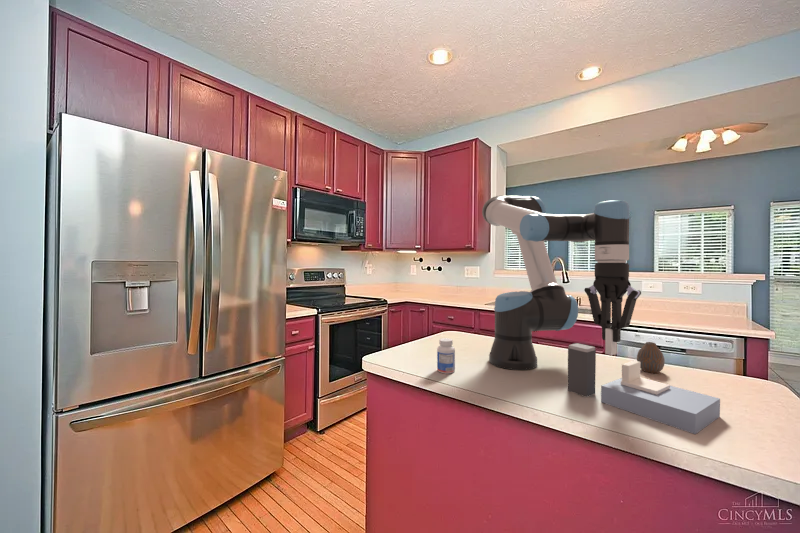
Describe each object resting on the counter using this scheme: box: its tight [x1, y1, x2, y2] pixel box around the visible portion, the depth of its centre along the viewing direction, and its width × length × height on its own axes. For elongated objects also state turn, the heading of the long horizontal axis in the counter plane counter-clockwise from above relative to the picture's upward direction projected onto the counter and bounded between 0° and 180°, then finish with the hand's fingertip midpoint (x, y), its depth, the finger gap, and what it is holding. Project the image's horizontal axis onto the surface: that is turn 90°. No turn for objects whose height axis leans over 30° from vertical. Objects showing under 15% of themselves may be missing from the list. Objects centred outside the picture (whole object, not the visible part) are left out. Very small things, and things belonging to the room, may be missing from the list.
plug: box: [567, 342, 597, 398], centre depth 89 cm, size 5×4×12 cm
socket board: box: [600, 377, 721, 435], centre depth 79 cm, size 18×14×4 cm
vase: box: [636, 341, 666, 374], centre depth 105 cm, size 7×7×9 cm
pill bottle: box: [436, 337, 456, 375], centre depth 105 cm, size 6×5×10 cm
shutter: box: [621, 359, 671, 395], centre depth 82 cm, size 8×7×5 cm
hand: (611, 353), depth 88 cm, fingers closed
